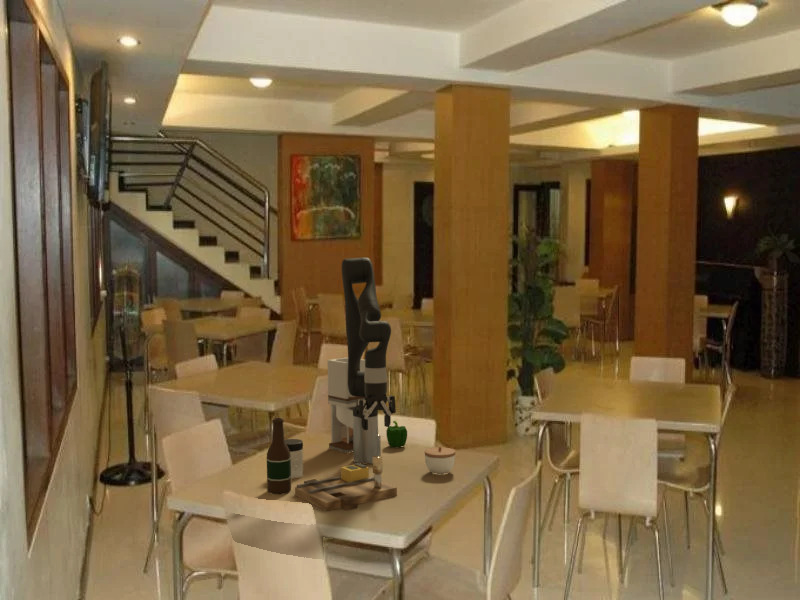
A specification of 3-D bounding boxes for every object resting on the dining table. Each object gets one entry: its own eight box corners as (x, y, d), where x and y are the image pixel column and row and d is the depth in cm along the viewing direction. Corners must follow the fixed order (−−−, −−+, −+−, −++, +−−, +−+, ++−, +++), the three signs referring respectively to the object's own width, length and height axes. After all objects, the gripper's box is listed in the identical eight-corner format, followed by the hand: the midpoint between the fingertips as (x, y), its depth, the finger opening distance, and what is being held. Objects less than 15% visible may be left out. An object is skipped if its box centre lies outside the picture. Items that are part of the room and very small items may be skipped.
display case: (329, 448, 334) (327, 360, 331) (350, 443, 341) (348, 357, 338) (347, 453, 325) (346, 362, 323) (368, 448, 332) (367, 360, 330)
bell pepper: (407, 449, 331) (407, 423, 330) (386, 449, 331) (386, 424, 330) (407, 444, 339) (406, 419, 339) (386, 444, 339) (386, 419, 338)
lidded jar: (429, 467, 304) (429, 442, 303) (458, 469, 301) (458, 443, 300) (421, 475, 294) (421, 449, 293) (451, 478, 291) (451, 451, 290)
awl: (379, 485, 274) (378, 455, 273) (384, 487, 271) (383, 457, 271) (371, 487, 272) (370, 456, 271) (376, 489, 270) (376, 458, 269)
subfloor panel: (358, 479, 291) (358, 469, 290) (402, 497, 269) (402, 487, 269) (290, 492, 276) (290, 482, 275) (331, 513, 254) (331, 502, 254)
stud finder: (359, 475, 285) (358, 462, 285) (368, 479, 280) (368, 466, 280) (341, 479, 281) (341, 465, 281) (350, 483, 276) (350, 469, 276)
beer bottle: (280, 496, 272) (279, 422, 270) (262, 492, 276) (260, 419, 275) (296, 489, 279) (294, 417, 277) (277, 486, 283) (276, 415, 281)
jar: (285, 480, 290) (284, 445, 289) (274, 474, 297) (274, 441, 296) (308, 476, 295) (307, 442, 294) (297, 470, 302) (297, 437, 301)
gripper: (387, 377, 291) (388, 423, 292) (351, 381, 283) (352, 429, 284) (399, 379, 285) (400, 427, 286) (363, 384, 277) (363, 433, 278)
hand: (376, 428), depth 285 cm, fingers open, 8 cm apart
